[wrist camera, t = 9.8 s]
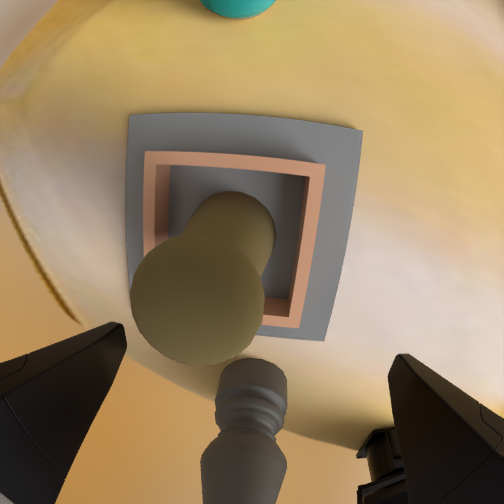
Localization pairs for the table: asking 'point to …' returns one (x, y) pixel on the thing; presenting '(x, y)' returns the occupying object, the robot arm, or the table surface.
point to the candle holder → (246, 436)
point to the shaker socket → (256, 185)
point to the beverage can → (238, 7)
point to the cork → (206, 282)
